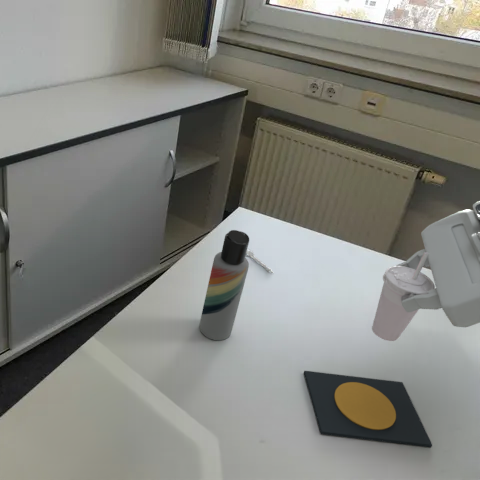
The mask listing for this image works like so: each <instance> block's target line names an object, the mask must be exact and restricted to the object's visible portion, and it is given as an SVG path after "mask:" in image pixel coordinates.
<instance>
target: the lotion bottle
mask: <svg viewBox="0 0 480 480" xmlns="http://www.w3.org/2000/svg"><path fill="white" fill-rule="evenodd" d="M249 243H250V237H249V235H248V234H247V233H246V232H244V231H240V230H238V229H231V230H229V231H228V232H227V233H226V234H225V235H224V240H223V243H222V248H221V251H219V252H218V253H216V254H215V255H214V258H213V261H212V265H211V269H210V275H209V280H208V284H207V289H206V292H205V298H204V302H203V305H202V311H201V316H200V320H199V330H200V333H201V334H202V335H203V336H204V337H206V338H207V339H210V340H213V341H224V340H226V339H228V338H229V337H230V336H231V334H232V331H233V328H234V324H235V321H236V316H237V313H238V309H239V305H240V302H241V297H242V294H243V290H244V286H245V284H246V283H245V282H246V279H247V275H248V272H249V267H250V261H249V260H248V259H247V257H246V255H247V253H246V252H247V250H248V249H249V248H248V247H249Z"/></svg>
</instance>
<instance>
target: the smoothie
mask: <svg viewBox="0 0 480 480" xmlns="http://www.w3.org/2000/svg"><path fill="white" fill-rule="evenodd" d="M428 254H429V253H427V252H424V254H423V256H422V258H421V260H420V262H419V264H418V267H417V269H416V270H415V269H412V268H408V267H403V266H396V265H395V266H394V265H393V266H390V267H388V268H386V270H385V272H384V273H383V275H382V280H383V284H382V287H381V292H380V296H379V299H378V303H377V307H376V311H375V314H374V318H373V323H372V326H371V331H372V332H373V333H374V335H375V336H377V338H379V339H381V340H383V341H388V342H395V341H397V340H398V339H399V338H400V337H401V335H402V334H403V333H404V331H405V329H406V328H407V327H408V326H409V324H410V322H411V321H412V320H413V319H414V317H415V316H416V315H417V313H418V312H419V310H420V309H418V310H415V311H412V312H407V311H406V310H405V309H404V307H403V306H402V302H401V297H402V296H404V295H407V294H409V293H412V292H413V293H414V294H415V295H423V294H428V291H430V290H432V289H435V288H436V285H435V282H434V281H432V279H431V278H430V277H428V275H426V274H424V273H423V272H421V271H422V270H423V267H424V266H423V265H424V263H425V261H426V258H427V256H428Z"/></svg>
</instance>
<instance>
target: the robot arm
mask: <svg viewBox="0 0 480 480" xmlns="http://www.w3.org/2000/svg"><path fill="white" fill-rule="evenodd" d="M420 236H421V239H422V242H423V246H424V248H423V249H421V250H417V251H416V252H415V253H413V255H411V256H410V257H409V258H408V259H407V260H406V261H404V262H401V263H399V264H395V266H403V267H408V268H412V269H415V270H416V269H417V267H418V264H419V262H420V260H421V258H422V256H423V254H424V252H427V253H429V254H428V256H427V258H426V261H425V263H424V265H423V267H425V268H428V267H430V271H431V274H432V278H433V283H434V285H435V289H432V290H430V291H428V294H423V295H415V294H414V293H413V292H412V293H409V294H407V295H404V296H402V297H401V302H402V306H403V307H404V309H405V310H406V311H407V312H412V311H415V310H418V309H419V310H434V311H435V310H440V309H442V311H443V313H444V315H445V316H446V317H447V319H448V320H449V322H450V324H451V325H452V326H453V327H456V328H469V327H471V326H472V327H473V326H474V325H475V326H476V325H477V324H480V200H478V201H476V202H475V203H473V204H472V209H464V210H459V211H457V212H455V213H453V214H450V215H448V216H446V217H443V218H441V219H439V220H436V221H434V222H432V223H430V224H428V225H427V226H426V227H424V229H423V230H422V231H421V232H420ZM419 310H418V311H419Z"/></svg>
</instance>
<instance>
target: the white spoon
mask: <svg viewBox="0 0 480 480" xmlns="http://www.w3.org/2000/svg"><path fill="white" fill-rule="evenodd" d="M246 255H248V256H249V257H250V258H251V259H252V260H254V261H255V262H256V263H258V264H259V265H260V266H261V267H263V268H264V269H265V270H266V271H267V272H268V273H270V274H273V275H274V274H275V272H274V271H273V270H272V268H270V267H269V266H267V264H265V263H264V262H262V260H260V259H259V258H258V257H256V256H255V254H254V251H252V250H251V249H250V248H248V249H247V252H246Z"/></svg>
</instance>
